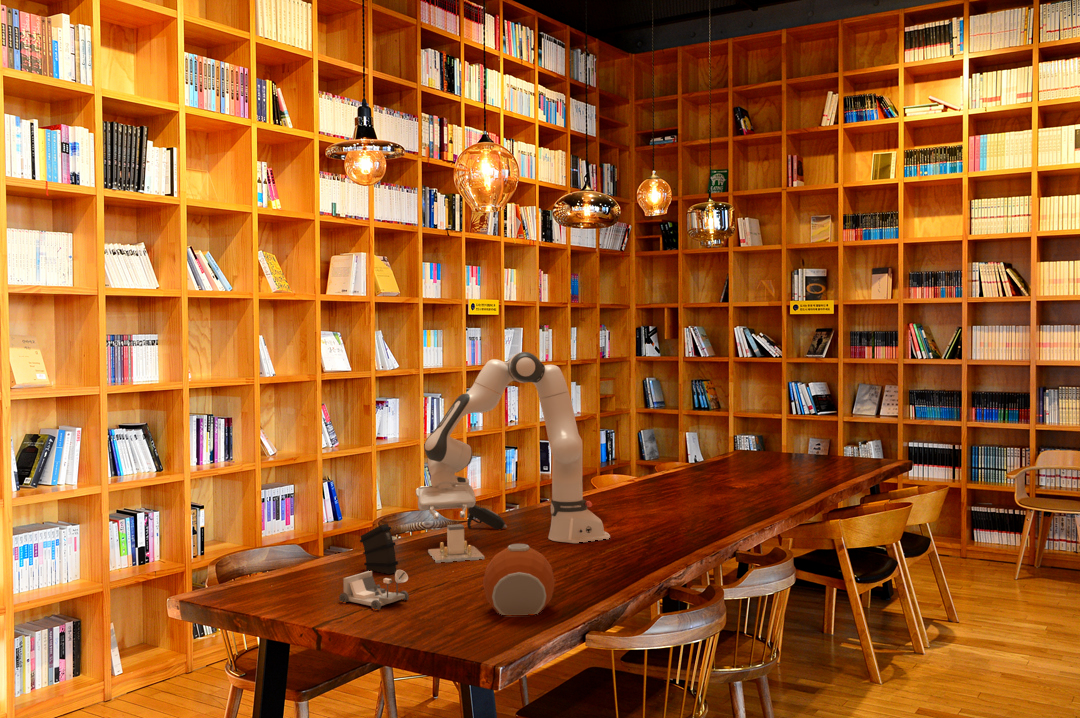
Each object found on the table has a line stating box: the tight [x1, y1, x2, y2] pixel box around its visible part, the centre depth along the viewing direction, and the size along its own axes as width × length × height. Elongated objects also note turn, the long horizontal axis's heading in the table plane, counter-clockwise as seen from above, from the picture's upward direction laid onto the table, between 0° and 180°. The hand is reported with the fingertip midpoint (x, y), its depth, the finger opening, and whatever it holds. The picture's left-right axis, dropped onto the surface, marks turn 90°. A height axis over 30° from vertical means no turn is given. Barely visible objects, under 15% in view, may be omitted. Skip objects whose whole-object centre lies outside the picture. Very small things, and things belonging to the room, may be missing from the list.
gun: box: [466, 504, 508, 530], centre depth 343 cm, size 3×16×10 cm, turn 79°
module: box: [446, 523, 465, 554], centre depth 299 cm, size 5×4×9 cm
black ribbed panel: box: [359, 523, 399, 575], centre depth 280 cm, size 4×13×15 cm, turn 53°
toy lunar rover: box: [338, 569, 410, 611], centre depth 246 cm, size 18×10×12 cm
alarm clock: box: [482, 543, 556, 616], centre depth 237 cm, size 19×18×17 cm
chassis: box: [427, 539, 485, 564], centre depth 299 cm, size 16×16×4 cm
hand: (449, 517), depth 309 cm, fingers open, 8 cm apart
